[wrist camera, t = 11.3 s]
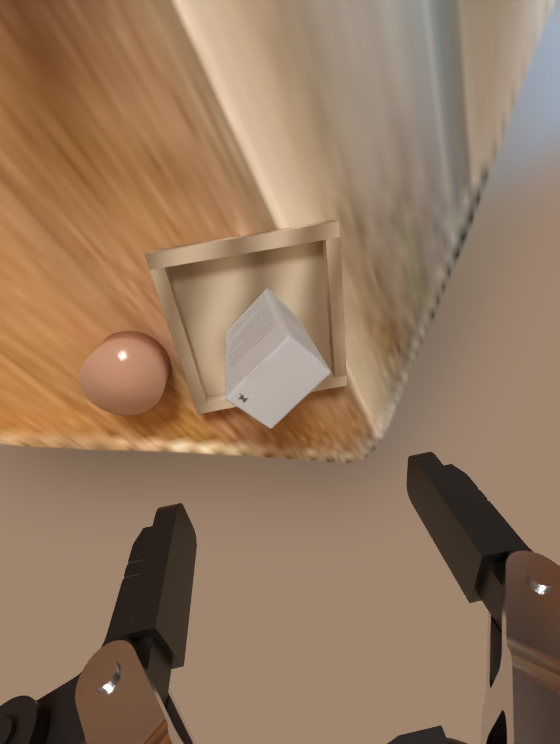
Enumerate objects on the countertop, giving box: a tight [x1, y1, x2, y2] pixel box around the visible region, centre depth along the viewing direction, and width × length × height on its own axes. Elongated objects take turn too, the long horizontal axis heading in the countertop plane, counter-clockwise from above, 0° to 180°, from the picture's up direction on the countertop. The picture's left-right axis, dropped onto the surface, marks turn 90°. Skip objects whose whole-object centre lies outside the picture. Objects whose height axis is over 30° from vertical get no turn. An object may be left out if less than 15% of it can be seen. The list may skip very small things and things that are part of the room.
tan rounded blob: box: [80, 331, 171, 416], centre depth 30 cm, size 7×7×4 cm
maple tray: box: [145, 220, 347, 414], centre depth 31 cm, size 16×16×2 cm
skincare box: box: [225, 288, 331, 429], centre depth 26 cm, size 6×4×12 cm
